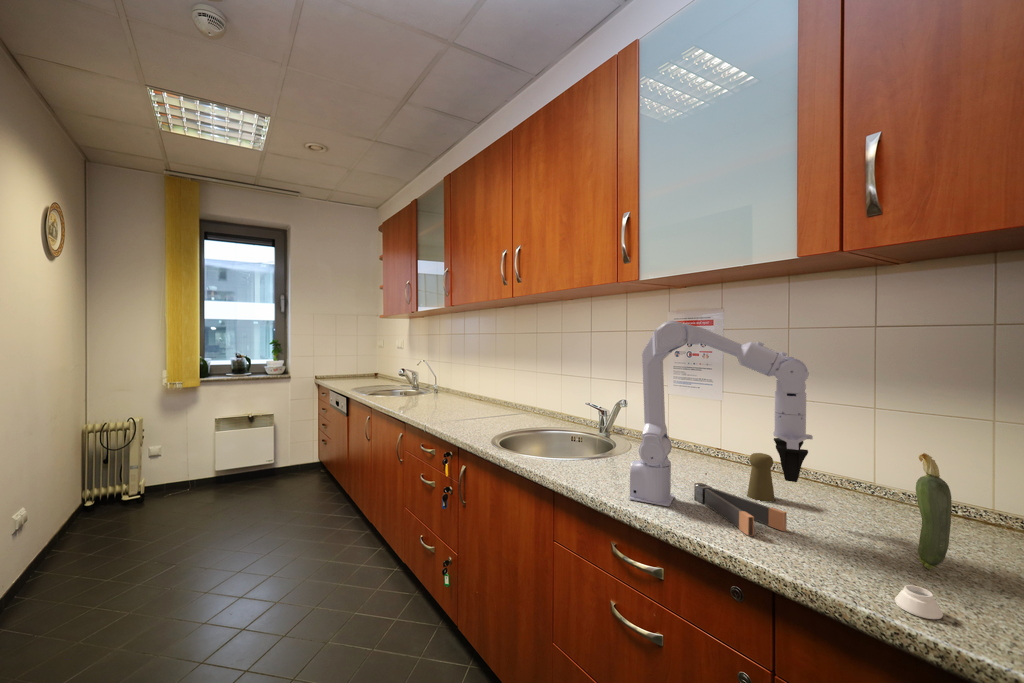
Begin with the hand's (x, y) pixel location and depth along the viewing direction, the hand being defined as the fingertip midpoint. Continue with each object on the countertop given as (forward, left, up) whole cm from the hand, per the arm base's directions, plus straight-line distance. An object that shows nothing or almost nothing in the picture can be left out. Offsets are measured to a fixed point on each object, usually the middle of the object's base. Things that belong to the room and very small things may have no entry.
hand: (789, 476), depth 94 cm
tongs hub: (-18, +5, -10) cm, 21 cm away
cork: (-5, +15, -10) cm, 19 cm away
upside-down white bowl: (+14, -27, -10) cm, 32 cm away
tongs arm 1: (-12, -5, -10) cm, 16 cm away
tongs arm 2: (-8, -1, -10) cm, 13 cm away
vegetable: (+20, -11, -10) cm, 25 cm away
